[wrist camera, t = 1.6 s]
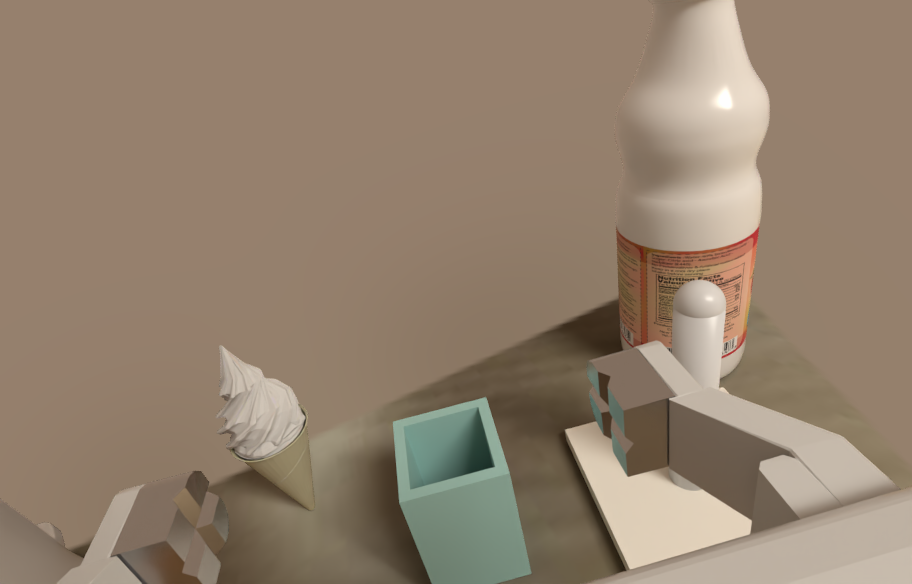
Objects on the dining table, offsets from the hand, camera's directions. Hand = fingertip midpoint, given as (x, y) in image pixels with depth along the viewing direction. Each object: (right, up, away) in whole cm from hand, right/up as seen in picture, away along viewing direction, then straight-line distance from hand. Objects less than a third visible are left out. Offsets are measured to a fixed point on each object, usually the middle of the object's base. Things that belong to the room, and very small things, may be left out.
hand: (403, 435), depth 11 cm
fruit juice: (+20, -2, +33) cm, 39 cm away
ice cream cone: (-9, -13, +27) cm, 31 cm away
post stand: (+16, -9, +22) cm, 29 cm away
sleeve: (+2, -13, +22) cm, 25 cm away
